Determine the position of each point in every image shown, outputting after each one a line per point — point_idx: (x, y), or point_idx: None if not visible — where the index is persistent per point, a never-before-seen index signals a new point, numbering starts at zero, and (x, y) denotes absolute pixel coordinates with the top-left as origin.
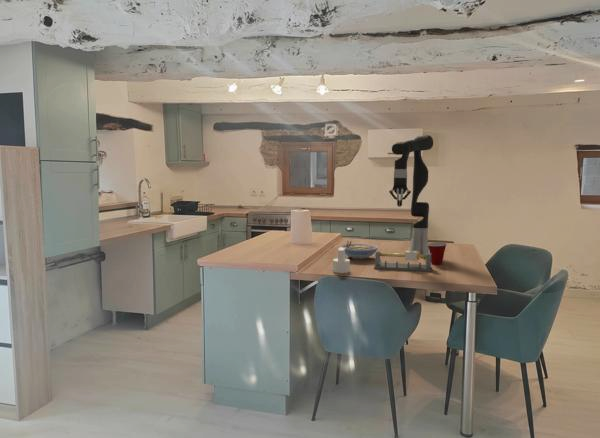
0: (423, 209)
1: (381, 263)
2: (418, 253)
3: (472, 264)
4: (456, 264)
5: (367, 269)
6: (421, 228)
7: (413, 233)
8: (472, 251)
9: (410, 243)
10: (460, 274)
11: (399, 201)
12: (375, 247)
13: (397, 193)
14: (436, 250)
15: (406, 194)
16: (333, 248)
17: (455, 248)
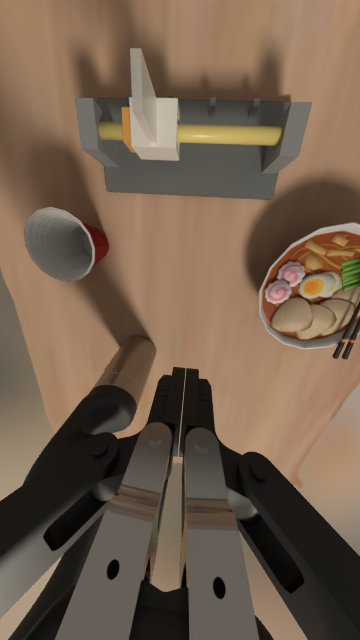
0: (55, 456)
1: (255, 179)
2: (125, 111)
3: (13, 253)
4: None
5: (319, 90)
6: (107, 384)
7: (139, 382)
8: (39, 387)
9: (148, 109)
10: (15, 81)
11: (184, 412)
12: (261, 311)
13: (240, 635)
14: (69, 218)
15: (2, 549)
16: (341, 396)
17: (72, 410)
